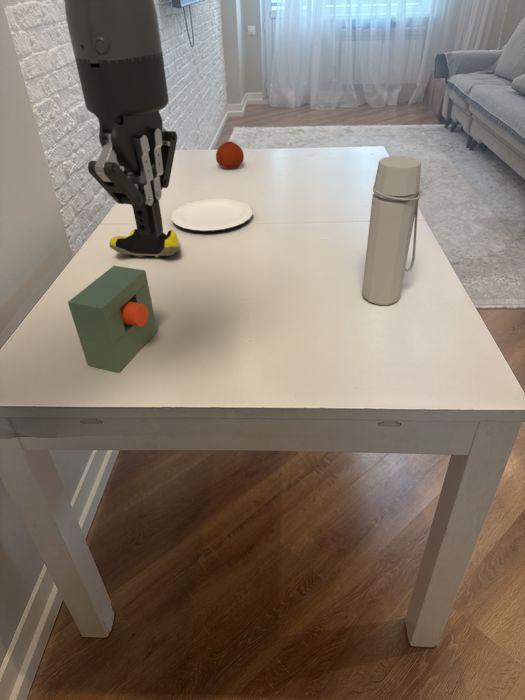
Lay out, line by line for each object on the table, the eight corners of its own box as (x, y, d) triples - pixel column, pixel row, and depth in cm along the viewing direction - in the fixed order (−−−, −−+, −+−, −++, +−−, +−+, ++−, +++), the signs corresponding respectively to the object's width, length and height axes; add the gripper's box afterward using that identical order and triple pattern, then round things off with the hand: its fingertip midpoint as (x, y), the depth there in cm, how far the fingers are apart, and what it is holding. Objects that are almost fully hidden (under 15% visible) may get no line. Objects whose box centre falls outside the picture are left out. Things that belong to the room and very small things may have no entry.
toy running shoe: (177, 266, 106) (188, 245, 113) (173, 242, 102) (185, 223, 110) (110, 263, 107) (126, 244, 115) (105, 240, 104) (121, 221, 112)
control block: (157, 331, 86) (145, 270, 79) (119, 373, 77) (101, 308, 70) (128, 325, 88) (113, 265, 81) (87, 365, 79) (67, 302, 72)
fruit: (212, 166, 161) (210, 140, 156) (238, 162, 164) (236, 136, 159) (222, 173, 155) (220, 147, 150) (248, 169, 157) (246, 143, 153)
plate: (215, 243, 114) (215, 236, 113) (154, 223, 124) (153, 217, 123) (269, 214, 127) (269, 208, 126) (209, 198, 137) (209, 192, 136)
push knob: (150, 318, 79) (146, 299, 77) (138, 331, 76) (133, 311, 74) (134, 315, 80) (129, 296, 78) (121, 327, 77) (116, 308, 75)
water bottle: (370, 310, 89) (387, 171, 74) (354, 289, 95) (368, 156, 80) (417, 303, 91) (443, 165, 76) (399, 283, 97) (420, 151, 82)
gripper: (123, 41, 49) (152, 209, 59) (31, 59, 39) (85, 257, 49) (191, 41, 47) (208, 216, 57) (111, 60, 37) (150, 267, 47)
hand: (151, 235), depth 53 cm, fingers closed
